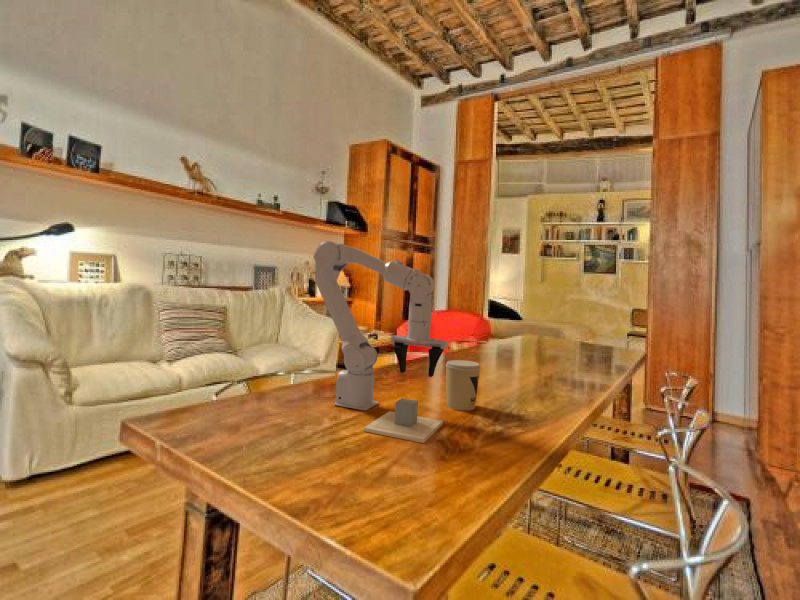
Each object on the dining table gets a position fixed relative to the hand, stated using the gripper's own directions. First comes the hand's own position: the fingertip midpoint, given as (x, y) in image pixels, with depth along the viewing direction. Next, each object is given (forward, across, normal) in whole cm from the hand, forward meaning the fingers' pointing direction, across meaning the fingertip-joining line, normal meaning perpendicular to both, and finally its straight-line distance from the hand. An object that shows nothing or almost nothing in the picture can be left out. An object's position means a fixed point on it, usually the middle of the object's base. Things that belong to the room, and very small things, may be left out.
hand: (416, 374), depth 113 cm
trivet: (+10, +2, -12) cm, 16 cm away
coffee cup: (+10, +9, +12) cm, 18 cm away
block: (+9, +2, -12) cm, 15 cm away
